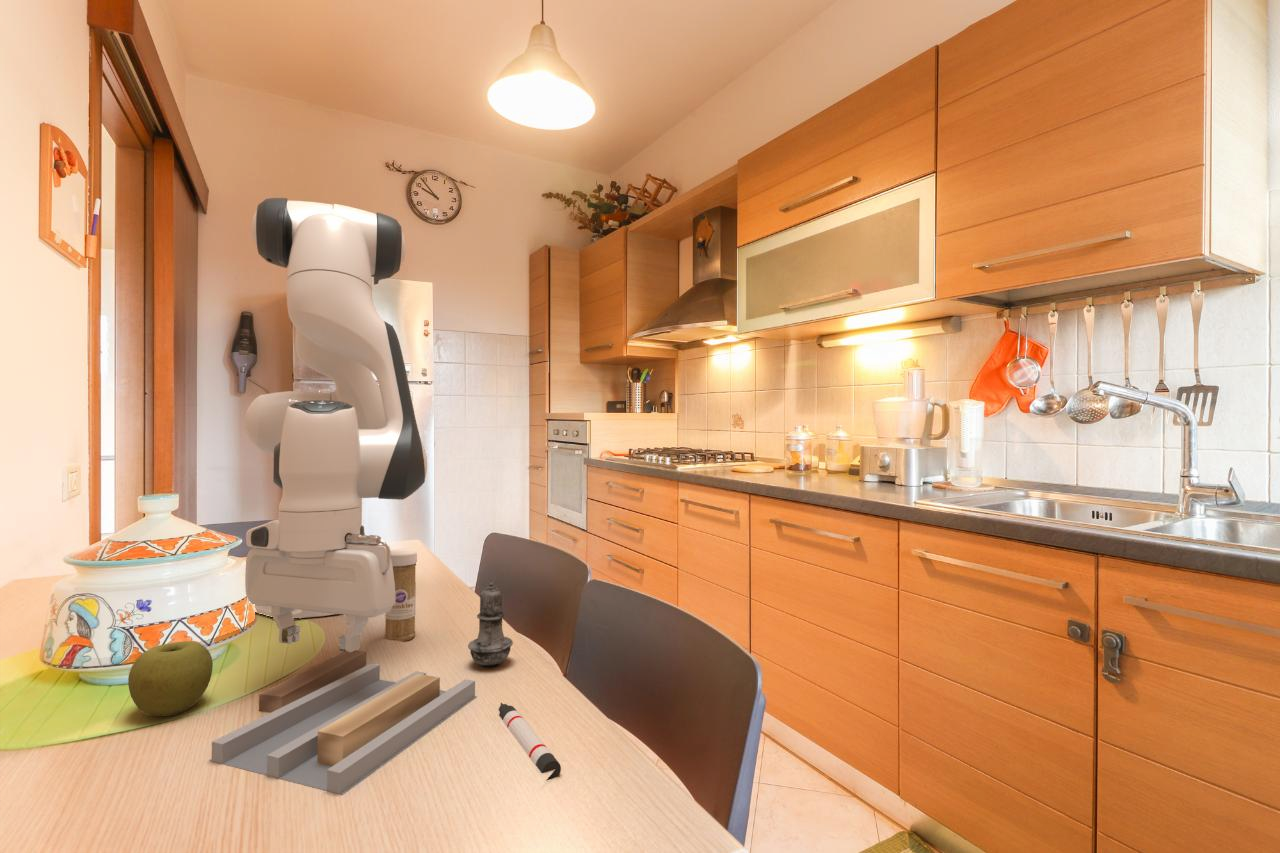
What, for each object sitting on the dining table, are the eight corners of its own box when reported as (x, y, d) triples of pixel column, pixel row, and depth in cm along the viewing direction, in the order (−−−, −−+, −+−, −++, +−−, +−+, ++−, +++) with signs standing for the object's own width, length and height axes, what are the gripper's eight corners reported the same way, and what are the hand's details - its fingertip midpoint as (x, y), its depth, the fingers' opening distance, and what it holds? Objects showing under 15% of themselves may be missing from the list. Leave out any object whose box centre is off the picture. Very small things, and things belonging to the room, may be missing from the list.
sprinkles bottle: (387, 645, 88) (388, 555, 89) (381, 636, 92) (382, 550, 92) (419, 639, 91) (420, 551, 91) (411, 630, 95) (412, 547, 95)
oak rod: (317, 763, 56) (317, 731, 56) (417, 699, 69) (418, 673, 69) (342, 769, 55) (342, 736, 55) (439, 703, 68) (439, 677, 68)
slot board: (209, 768, 56) (209, 741, 56) (368, 684, 75) (368, 663, 75) (342, 803, 51) (342, 773, 51) (477, 703, 70) (477, 681, 70)
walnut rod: (258, 721, 66) (259, 694, 66) (346, 671, 80) (347, 649, 80) (281, 724, 65) (281, 696, 65) (366, 673, 79) (366, 651, 79)
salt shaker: (501, 681, 76) (502, 587, 76) (459, 676, 77) (460, 584, 77) (519, 663, 82) (520, 576, 82) (480, 660, 83) (481, 574, 83)
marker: (561, 779, 55) (561, 757, 55) (541, 785, 54) (541, 763, 54) (508, 712, 68) (508, 694, 68) (492, 716, 67) (492, 698, 67)
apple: (216, 689, 73) (217, 631, 73) (206, 717, 66) (207, 653, 66) (137, 703, 69) (138, 641, 69) (118, 733, 62) (119, 665, 62)
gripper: (408, 532, 72) (407, 646, 72) (281, 525, 79) (279, 630, 78) (369, 540, 66) (367, 665, 66) (235, 531, 73) (233, 645, 72)
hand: (318, 646), depth 72 cm, fingers open, 8 cm apart
